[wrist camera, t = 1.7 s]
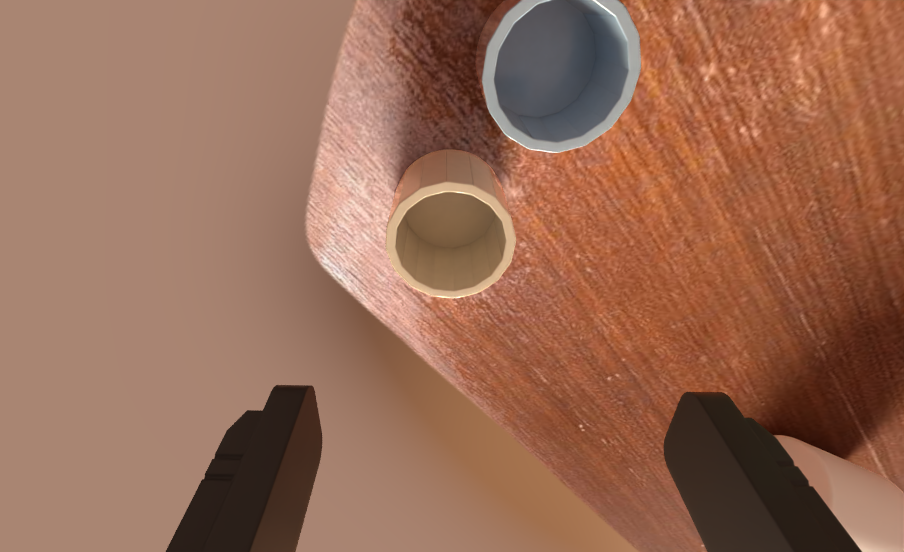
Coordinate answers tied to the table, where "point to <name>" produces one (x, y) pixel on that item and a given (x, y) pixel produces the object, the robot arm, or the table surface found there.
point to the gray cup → (557, 69)
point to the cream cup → (450, 225)
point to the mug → (853, 496)
